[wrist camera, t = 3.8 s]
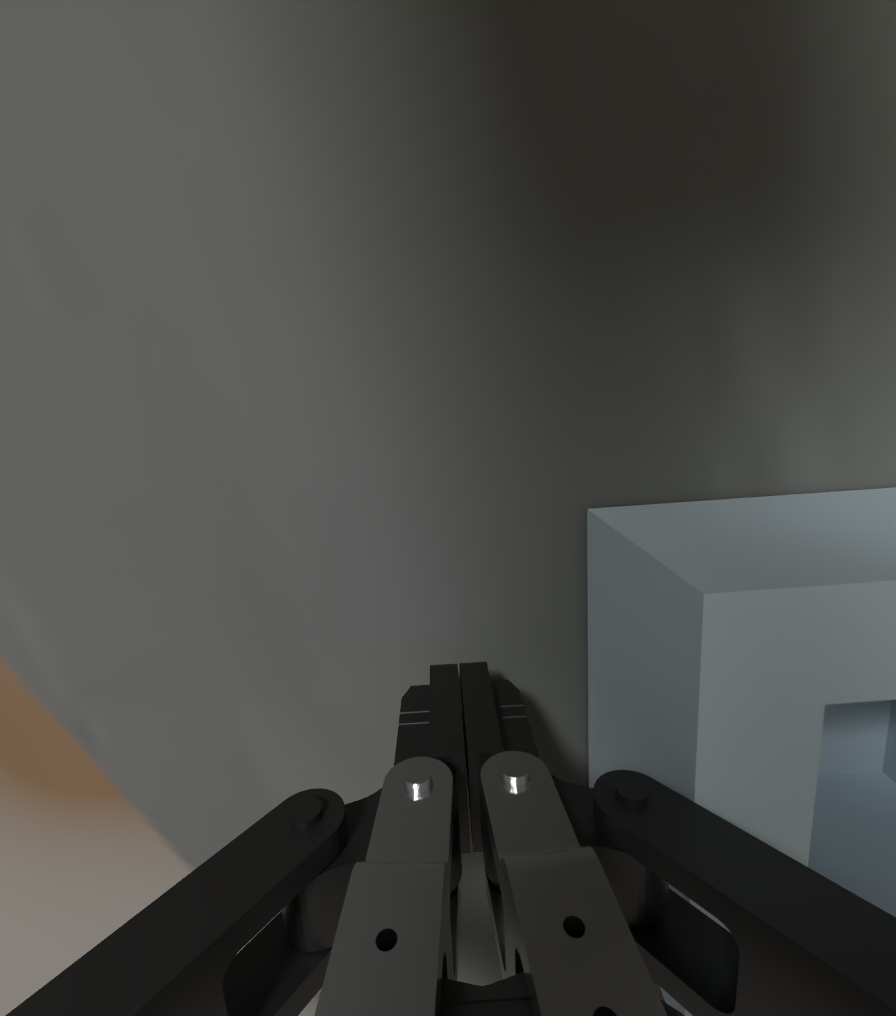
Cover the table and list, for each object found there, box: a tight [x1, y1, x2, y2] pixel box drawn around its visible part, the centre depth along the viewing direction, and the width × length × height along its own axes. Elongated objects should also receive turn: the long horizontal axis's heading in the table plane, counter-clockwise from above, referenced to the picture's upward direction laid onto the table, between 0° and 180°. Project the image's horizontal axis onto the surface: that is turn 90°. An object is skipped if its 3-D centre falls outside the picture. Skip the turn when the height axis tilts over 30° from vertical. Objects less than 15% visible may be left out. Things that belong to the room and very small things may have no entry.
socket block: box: [587, 487, 896, 1016], centre depth 11 cm, size 9×9×6 cm
